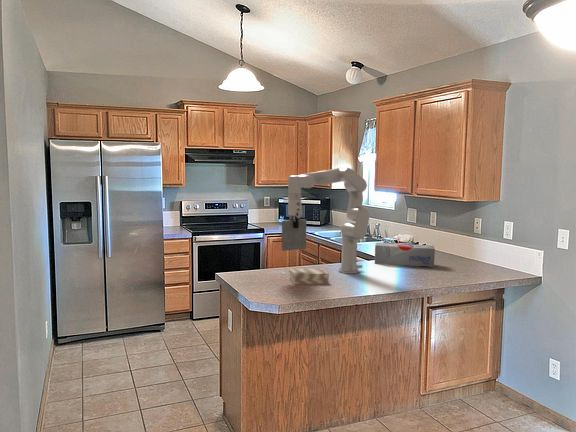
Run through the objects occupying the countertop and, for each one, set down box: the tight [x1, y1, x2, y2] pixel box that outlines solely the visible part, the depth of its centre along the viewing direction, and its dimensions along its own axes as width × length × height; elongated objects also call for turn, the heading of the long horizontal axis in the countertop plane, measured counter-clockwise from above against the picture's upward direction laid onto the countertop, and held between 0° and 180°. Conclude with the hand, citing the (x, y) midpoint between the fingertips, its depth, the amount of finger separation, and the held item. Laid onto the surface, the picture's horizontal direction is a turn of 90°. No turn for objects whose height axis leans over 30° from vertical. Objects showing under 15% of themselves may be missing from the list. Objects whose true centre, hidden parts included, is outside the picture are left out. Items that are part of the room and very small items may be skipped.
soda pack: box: [374, 242, 436, 268], centre depth 333 cm, size 41×13×14 cm, turn 77°
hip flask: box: [281, 216, 307, 252], centre depth 281 cm, size 16×4×20 cm, turn 117°
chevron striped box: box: [289, 267, 330, 285], centre depth 278 cm, size 20×14×6 cm
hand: (294, 227), depth 280 cm, fingers closed on hip flask, 3 cm apart
